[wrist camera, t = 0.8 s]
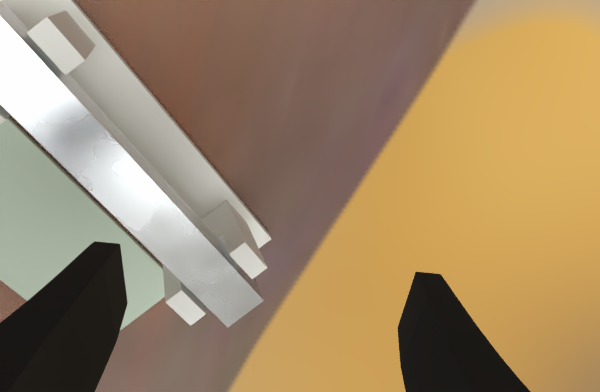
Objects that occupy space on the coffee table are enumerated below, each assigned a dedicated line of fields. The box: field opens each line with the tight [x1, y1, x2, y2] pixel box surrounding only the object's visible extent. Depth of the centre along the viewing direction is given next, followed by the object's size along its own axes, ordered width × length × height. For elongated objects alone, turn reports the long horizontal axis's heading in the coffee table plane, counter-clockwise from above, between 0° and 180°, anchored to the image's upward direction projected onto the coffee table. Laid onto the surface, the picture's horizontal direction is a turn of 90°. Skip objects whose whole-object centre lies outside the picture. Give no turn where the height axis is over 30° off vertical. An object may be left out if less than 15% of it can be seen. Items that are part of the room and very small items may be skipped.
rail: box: [0, 1, 264, 327], centre depth 24 cm, size 2×18×2 cm, turn 33°
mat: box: [0, 117, 165, 330], centre depth 29 cm, size 7×17×1 cm, turn 33°
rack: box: [0, 0, 271, 325], centre depth 26 cm, size 6×19×7 cm, turn 33°
